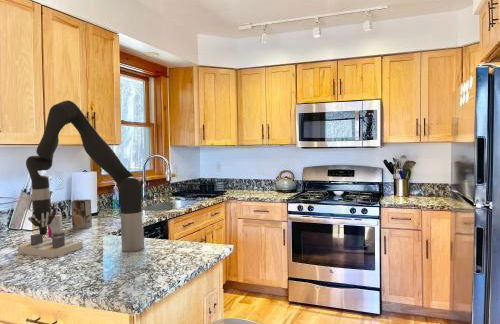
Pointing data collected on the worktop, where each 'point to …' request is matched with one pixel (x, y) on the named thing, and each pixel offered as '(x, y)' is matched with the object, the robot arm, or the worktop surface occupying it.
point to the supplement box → (55, 225)
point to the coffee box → (81, 213)
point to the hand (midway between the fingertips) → (43, 234)
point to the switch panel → (49, 248)
